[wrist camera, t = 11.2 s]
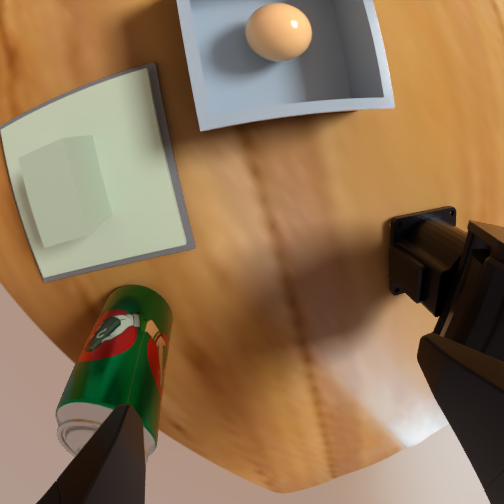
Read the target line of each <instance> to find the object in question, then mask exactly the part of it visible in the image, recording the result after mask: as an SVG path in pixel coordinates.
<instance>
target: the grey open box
mask: <svg viewBox="0 0 504 504" xmlns="http://www.w3.org/2000/svg"><path fill="white" fill-rule="evenodd" d="M176 1H177V7H178V13H179V19H180V25H181V31H182V36H183V42H184V48H185V53H186V59H187V64H188V70H189V75H190V81H191V86H192V91H193V97H194V102H195V107H196V112H197V117H198V122H199V127H200V132H204V131H209V130H214V129H219V128H224V127H229V126H234V125H240V124H246V123H251V122H258V121H264V120H271V119H278V118H285V117H293V116H301V115H310V114H319V113H330V112H342V111H357V110H372V109H390V108H395V105H394V98H393V92H392V85H391V79H390V74H389V68H388V63H387V58H386V53H385V48H384V44H383V39H382V35H381V31H380V27H379V23H378V19H377V15H376V11H375V8H374V4H373V1H372V0H176Z"/></svg>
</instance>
